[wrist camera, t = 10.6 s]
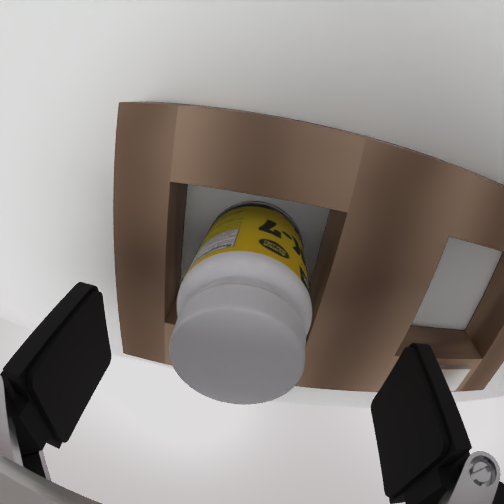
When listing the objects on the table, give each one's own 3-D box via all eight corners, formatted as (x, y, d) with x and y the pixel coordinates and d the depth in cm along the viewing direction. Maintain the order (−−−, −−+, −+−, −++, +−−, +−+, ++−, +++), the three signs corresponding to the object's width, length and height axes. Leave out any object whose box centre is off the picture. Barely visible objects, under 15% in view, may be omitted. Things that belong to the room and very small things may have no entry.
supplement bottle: (319, 257, 16) (346, 382, 9) (244, 298, 18) (222, 426, 10) (267, 180, 15) (257, 264, 7) (189, 231, 16) (124, 339, 9)
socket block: (543, 204, 14) (576, 225, 11) (468, 362, 19) (484, 393, 16) (146, 101, 13) (114, 102, 10) (140, 321, 19) (121, 357, 16)
